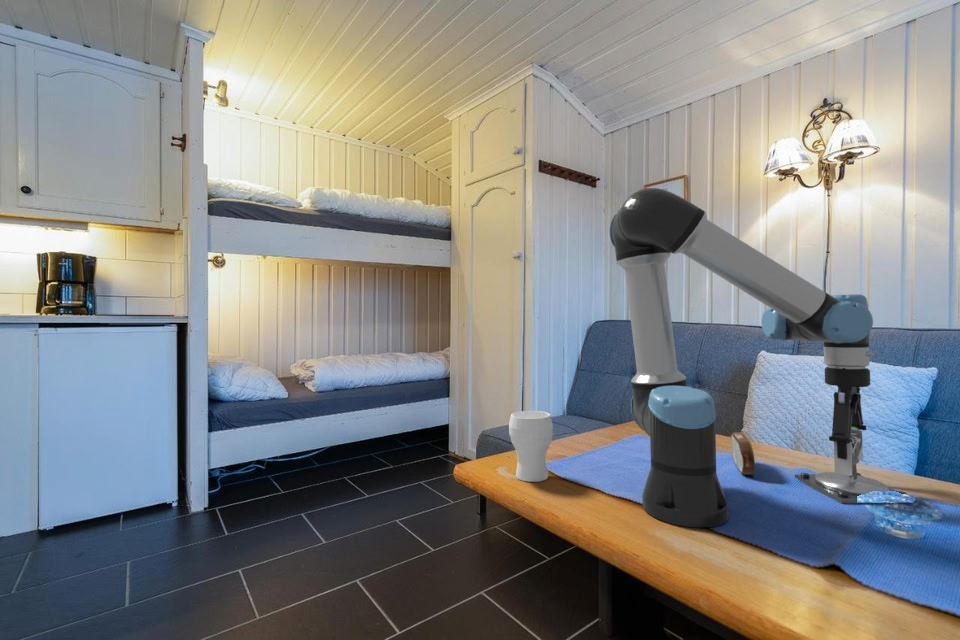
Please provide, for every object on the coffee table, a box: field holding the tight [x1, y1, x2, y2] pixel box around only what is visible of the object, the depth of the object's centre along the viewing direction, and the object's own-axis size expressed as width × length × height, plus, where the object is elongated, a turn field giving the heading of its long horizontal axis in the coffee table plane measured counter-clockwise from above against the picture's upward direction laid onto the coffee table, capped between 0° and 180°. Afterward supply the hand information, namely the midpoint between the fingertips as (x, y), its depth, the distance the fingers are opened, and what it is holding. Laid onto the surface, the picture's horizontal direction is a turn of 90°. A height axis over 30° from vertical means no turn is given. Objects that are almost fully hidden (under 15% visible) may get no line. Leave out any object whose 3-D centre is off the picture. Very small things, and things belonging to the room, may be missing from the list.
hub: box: [794, 471, 908, 504], centre depth 95 cm, size 14×14×2 cm
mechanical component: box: [848, 427, 863, 480], centre depth 95 cm, size 3×10×10 cm, turn 130°
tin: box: [730, 431, 756, 477], centre depth 109 cm, size 15×3×8 cm, turn 159°
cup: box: [508, 410, 554, 483], centre depth 108 cm, size 11×11×15 cm
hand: (849, 466), depth 95 cm, fingers open, 13 cm apart
